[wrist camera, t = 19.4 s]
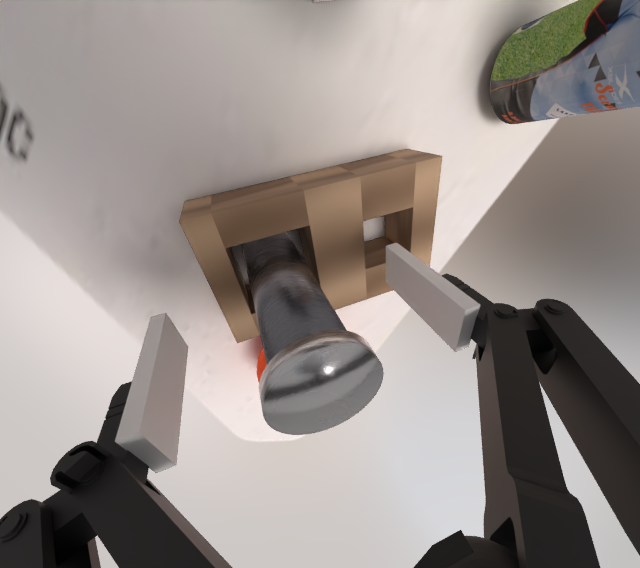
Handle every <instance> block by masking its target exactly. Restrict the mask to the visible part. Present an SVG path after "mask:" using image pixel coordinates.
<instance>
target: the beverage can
mask: <svg viewBox="0 0 640 568" xmlns="http://www.w3.org/2000/svg"><path fill="white" fill-rule="evenodd" d="M490 96H491V102H492V106H493V109H494V111H495V113H496V115H497V116H498V117H499V118H500V119H501V120H502V121H504V122H505V123H509V124H518V123H525V122H533V121H540V120H547V119H554V118H561V117H568V116H575V115H582V114H589V113H596V112H603V111H611V110H618V109H625V108H632V107H639V106H640V0H578V1H576V2H574V3H572V4H569V5H567V6H565V7H563V8H561V9H558V10H556V11H554V12H552V13H550V14H548V15H545V16H543V17H541V18H539V19H537V20H535V21H532V22H530V23H528V24H526V25H524V26H522V27H520V28H518V29H517V30H516V31H515V32H513V33H512V35H511V36H510V37H509V38H508V39H507V40H506V42H505V43H504V45H503V46H502V48H501V50H500V52H499V54H498V56H497V59H496V61H495V64H494V67H493V71H492V76H491V81H490Z"/></svg>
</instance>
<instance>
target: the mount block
mask: <svg viewBox="0 0 640 568" xmlns="http://www.w3.org/2000/svg"><path fill="white" fill-rule="evenodd" d="M441 163H442V156H439V155H435V154H430V153H425V152H420V151H415V150H411V149H405V150H401V151H397V152H392V153H388V154H384V155H380V156H375V157H371V158H367V159H363V160H359V161H354V162H350V163H346V164H342V165H337V166H333V167H329V168H325V169H320V170H316V171H312V172H308V173H303V174H299V175H295V176H291V177H287V178H282V179H278V180H274V181H270V182H265V183H261V184H257V185H253V186H248V187H244V188H240V189H236V190H231V191H227V192H223V193H219V194H214V195H210V196H206V197H202V198H198V199H193V200H189V201H185V203H184V206H183V210H182V213H181V217H180V220H179V222H180V224H181V227H182V229H183V231H184V233H185V235H186V237H187V239H188V241H189V243H190V245H191V247H192V249H193V252H194V254H195V256H196V258H197V260H198V262H199V264H200V266H201V268H202V270H203V272H204V275H205V277H206V279H207V281H208V283H209V285H210V287H211V289H212V291H213V293H214V295H215V297H216V300H217V302H218V304H219V306H220V308H221V310H222V312H223V314H224V316H225V318H226V320H227V323H228V325H229V327H230V329H231V331H232V333H233V335H234V337H235V339H236V341H237V343H239V342H242V341H245V340H248V339H251V338H254V337H257V336H260V330H259V325H258V321H257V316H256V311H255V306H254V302H253V297H252V292H251V287H250V285H247V286H246V285H245V282H244V280H243V277H242V274H241V272H240V269H239V266H238V264H237V261H236V259H235V256H234V253H233V251H232V248H231V247H232V246H236V245H240V244H243V243H247V242H251V241H254V240H258V239H261V238H265V237H269V236H272V235H276V234H280V233H283V232H287V231H291V230H294V229H298V228H299V230H300V235H301V240H302V245H303V250H304V255H305V260H306V264H307V266H308V267H309V269H310V271H311V272H312V274H313V276H314V277H315V279H316V281H317V282H318V284H319V285H320V287H321V289H322V290H323V292H324V294H325V295H326V297H327V299H328V300H329V302H330V304H331V305H332V307H333V309H334V310H336V309H339V308H342V307H345V306H348V305H351V304H354V303H357V302H360V301H363V300H366V299H369V298H372V297H374V296H377V295H380V294H383V293H386V292H389V291H392V290H394V289H393V288H392V287H391V286H390V285H389V284H388V283H387V282H386V246H387V245H390V244H394V243H398V244H399V245H401V246H402V247H403V248H405V249H406V250H407V251H409V252H410V253H411V254H413V255H414V256H416V257H417V258H418V259H420V260H421V261H422V262H424V263H425V264H426V265H428V266H429V267H430V260H431V251H432V242H433V233H434V225H435V216H436V207H437V198H438V190H439V181H440V172H441ZM383 215H385V236H384V237H381V238H378V239H374V240H371V241H368V242H364V235H363V221H366V220H369V219H373V218H376V217H380V216H383Z"/></svg>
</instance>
